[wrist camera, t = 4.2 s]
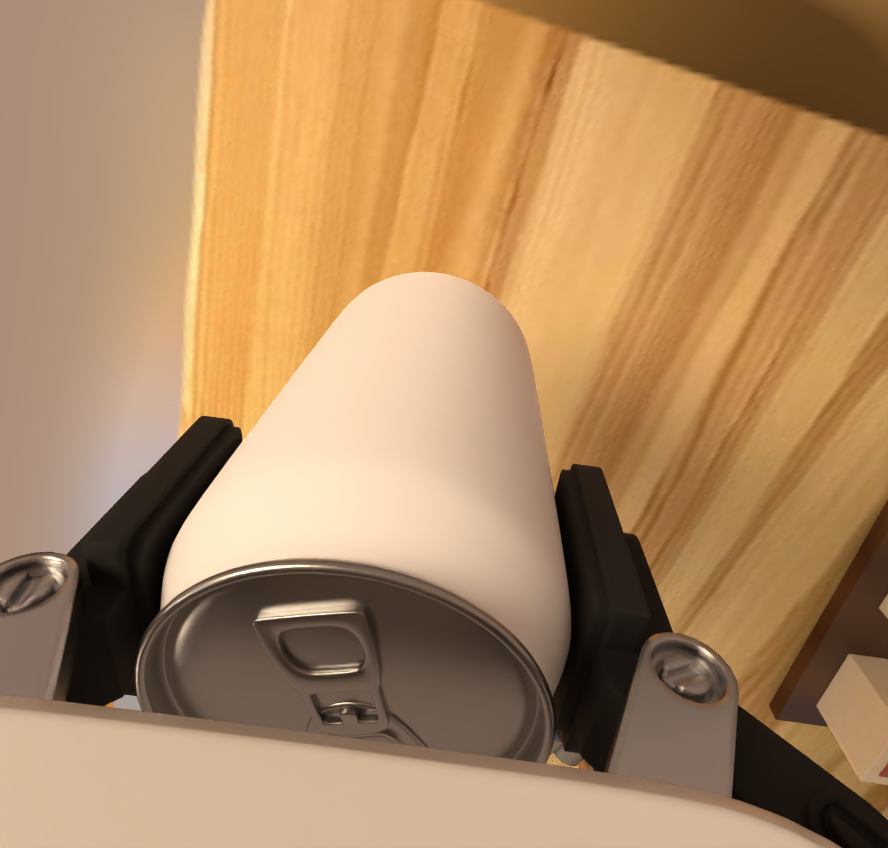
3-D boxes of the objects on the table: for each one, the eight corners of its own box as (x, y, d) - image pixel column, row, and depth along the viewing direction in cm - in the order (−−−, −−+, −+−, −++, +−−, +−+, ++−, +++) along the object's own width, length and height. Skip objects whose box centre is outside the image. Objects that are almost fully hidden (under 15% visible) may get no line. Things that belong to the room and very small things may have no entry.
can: (357, 465, 20) (209, 854, 9) (302, 287, 17) (-2, 564, 6) (541, 443, 19) (604, 848, 8) (517, 249, 16) (569, 503, 6)
